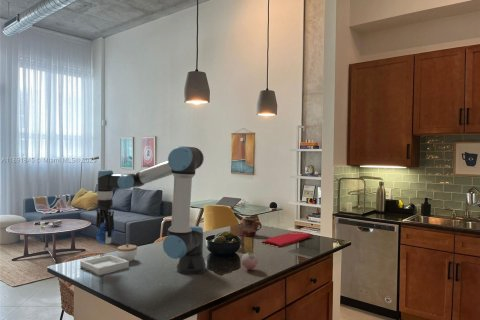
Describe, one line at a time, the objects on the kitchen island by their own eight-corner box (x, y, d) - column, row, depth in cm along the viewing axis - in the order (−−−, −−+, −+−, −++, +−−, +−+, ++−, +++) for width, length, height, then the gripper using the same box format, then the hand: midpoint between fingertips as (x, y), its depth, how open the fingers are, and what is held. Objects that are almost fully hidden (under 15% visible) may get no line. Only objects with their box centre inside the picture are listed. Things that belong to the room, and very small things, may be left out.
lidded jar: (131, 263, 198) (131, 246, 198) (113, 262, 200) (113, 245, 200) (140, 258, 209) (140, 242, 209) (123, 257, 211) (123, 241, 211)
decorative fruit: (238, 268, 192) (238, 249, 192) (252, 266, 195) (253, 248, 195) (245, 273, 183) (245, 254, 183) (259, 272, 186) (260, 252, 186)
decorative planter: (266, 236, 272) (266, 217, 272) (257, 239, 262) (257, 220, 262) (244, 232, 283) (244, 215, 283) (235, 235, 273) (235, 217, 273)
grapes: (109, 240, 197) (110, 218, 197) (117, 241, 194) (118, 219, 193) (90, 244, 188) (91, 221, 187) (98, 246, 184) (99, 222, 184)
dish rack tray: (128, 267, 191) (128, 261, 191) (98, 275, 178) (98, 268, 178) (109, 260, 203) (109, 254, 203) (80, 267, 190) (80, 261, 190)
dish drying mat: (261, 244, 248) (261, 238, 248) (294, 235, 278) (294, 230, 278) (279, 248, 238) (279, 242, 238) (312, 238, 268) (312, 233, 268)
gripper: (121, 200, 187) (121, 243, 187) (102, 196, 200) (101, 238, 200) (108, 201, 181) (107, 246, 181) (89, 198, 194) (88, 240, 194)
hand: (104, 242), depth 191 cm, fingers closed on grapes, 7 cm apart
